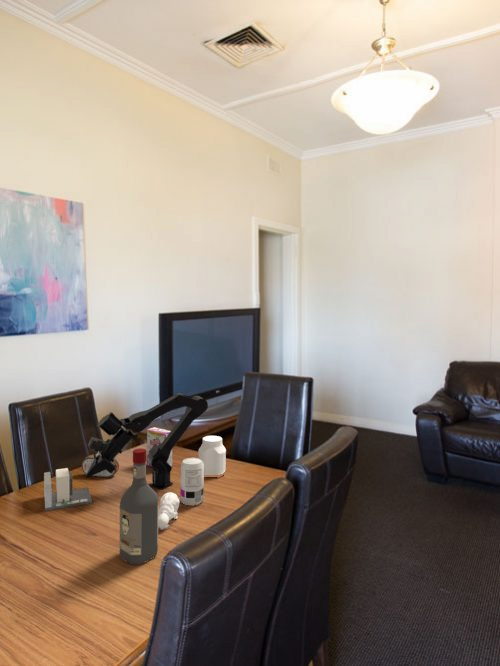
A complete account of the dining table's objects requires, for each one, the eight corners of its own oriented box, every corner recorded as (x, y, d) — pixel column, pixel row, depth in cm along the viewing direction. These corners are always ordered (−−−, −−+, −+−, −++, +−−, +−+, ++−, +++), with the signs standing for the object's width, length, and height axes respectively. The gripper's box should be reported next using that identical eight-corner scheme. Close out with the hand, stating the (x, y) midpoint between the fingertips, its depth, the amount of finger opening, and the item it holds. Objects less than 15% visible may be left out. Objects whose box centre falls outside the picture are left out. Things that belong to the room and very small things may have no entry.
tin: (119, 475, 183) (119, 455, 183) (116, 478, 180) (116, 458, 179) (84, 473, 185) (84, 453, 184) (80, 476, 181) (80, 456, 181)
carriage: (70, 491, 164) (70, 467, 163) (73, 503, 154) (73, 477, 154) (55, 493, 161) (55, 469, 161) (57, 505, 152) (57, 480, 151)
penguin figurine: (180, 490, 149) (170, 510, 137) (181, 514, 150) (170, 535, 138) (162, 489, 150) (150, 508, 138) (162, 512, 151) (150, 533, 139)
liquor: (142, 542, 132) (142, 443, 130) (162, 554, 126) (163, 450, 124) (115, 555, 125) (115, 450, 123) (135, 568, 119) (136, 458, 117)
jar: (196, 477, 183) (197, 441, 182) (199, 469, 192) (200, 434, 192) (224, 478, 183) (225, 442, 182) (226, 469, 192) (226, 435, 191)
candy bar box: (145, 466, 194) (146, 429, 193) (153, 463, 199) (154, 426, 198) (164, 471, 188) (165, 433, 187) (172, 468, 193) (173, 430, 192)
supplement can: (175, 503, 158) (176, 462, 158) (189, 495, 166) (189, 455, 165) (194, 509, 155) (195, 466, 154) (207, 500, 162) (208, 459, 161)
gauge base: (88, 490, 168) (88, 466, 168) (91, 503, 157) (91, 478, 157) (44, 496, 162) (44, 472, 161) (45, 511, 151) (44, 485, 150)
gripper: (98, 423, 171) (67, 455, 167) (105, 436, 155) (71, 472, 151) (119, 440, 175) (90, 472, 171) (128, 455, 159) (96, 491, 154)
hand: (86, 476), depth 162 cm, fingers closed
